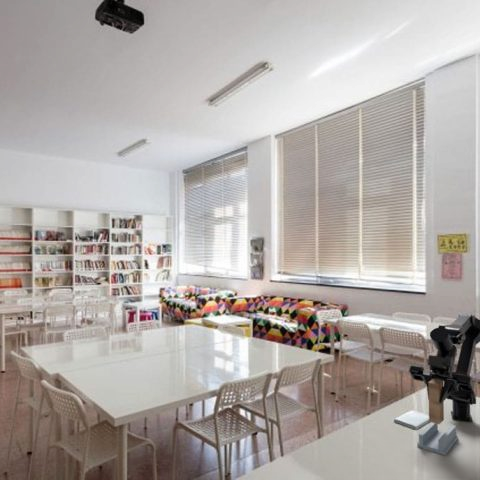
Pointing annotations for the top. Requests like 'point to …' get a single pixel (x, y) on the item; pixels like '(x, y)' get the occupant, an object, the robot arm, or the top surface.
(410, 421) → the hard drive
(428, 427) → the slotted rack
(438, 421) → the brown wooden block
